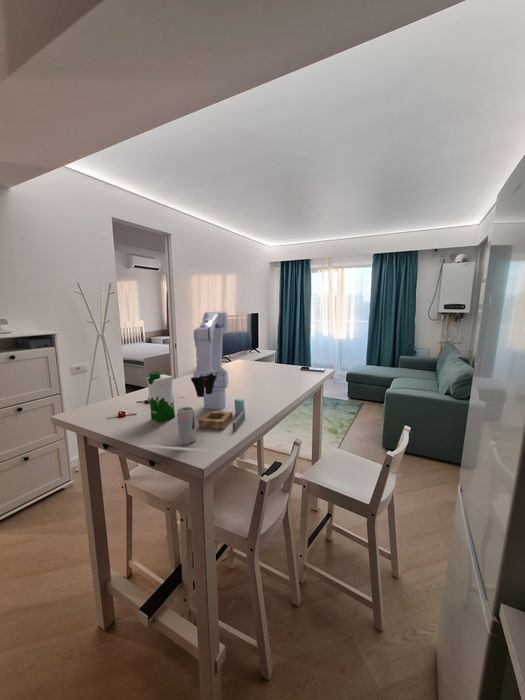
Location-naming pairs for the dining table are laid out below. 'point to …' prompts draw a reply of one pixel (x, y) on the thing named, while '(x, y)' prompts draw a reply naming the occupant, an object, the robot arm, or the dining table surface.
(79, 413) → the dining table surface
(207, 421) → the socket block
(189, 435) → the energy drink
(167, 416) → the milk carton
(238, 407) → the dowel
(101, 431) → the dining table surface
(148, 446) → the dining table surface
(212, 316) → the robot arm
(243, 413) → the board
